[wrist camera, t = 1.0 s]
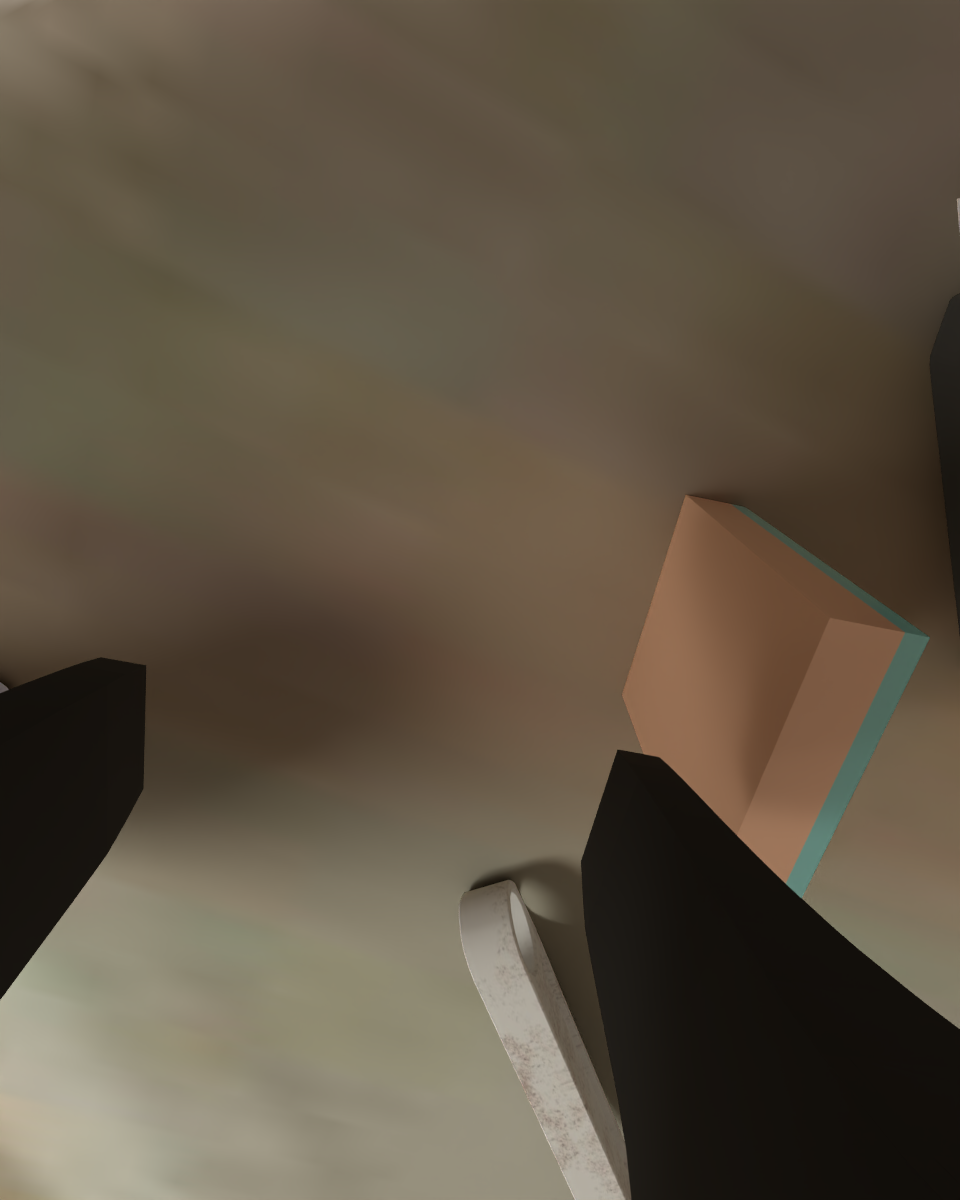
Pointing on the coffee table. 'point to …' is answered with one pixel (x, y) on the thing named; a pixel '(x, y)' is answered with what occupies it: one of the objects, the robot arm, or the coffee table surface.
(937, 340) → the usb drive
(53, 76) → the coffee table surface
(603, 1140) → the wrench
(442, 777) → the coffee table surface
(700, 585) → the tile
